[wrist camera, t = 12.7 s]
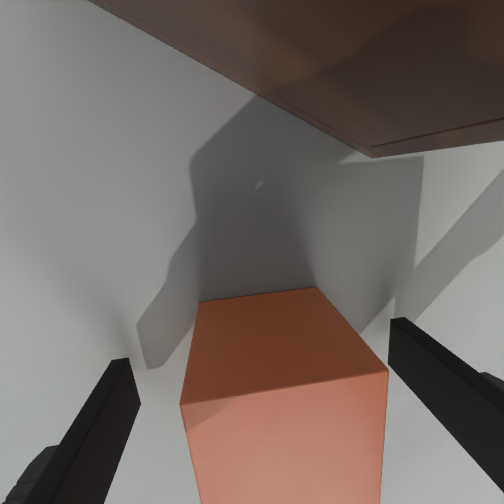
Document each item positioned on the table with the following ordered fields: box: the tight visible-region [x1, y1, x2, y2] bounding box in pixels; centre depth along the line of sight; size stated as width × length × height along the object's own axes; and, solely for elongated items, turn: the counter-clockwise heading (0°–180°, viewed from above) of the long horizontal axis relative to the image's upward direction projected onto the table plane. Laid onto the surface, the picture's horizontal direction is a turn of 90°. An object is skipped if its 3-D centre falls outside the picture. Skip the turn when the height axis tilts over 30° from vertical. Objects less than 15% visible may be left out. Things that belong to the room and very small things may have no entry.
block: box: [180, 287, 389, 504], centre depth 11 cm, size 6×6×6 cm
